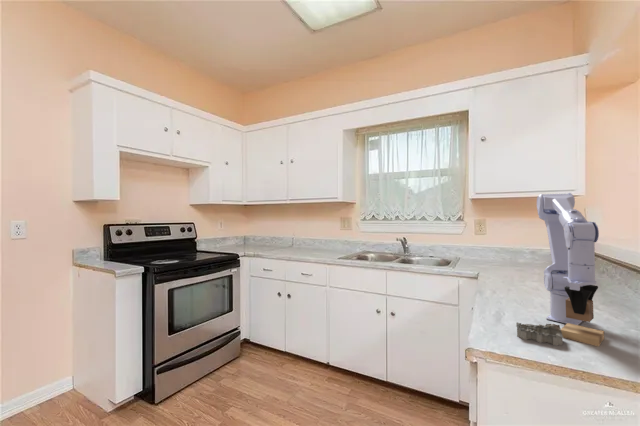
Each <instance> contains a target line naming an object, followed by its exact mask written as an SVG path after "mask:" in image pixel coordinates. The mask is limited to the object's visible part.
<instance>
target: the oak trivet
mask: <svg viewBox="0 0 640 426" xmlns="http://www.w3.org/2000/svg"><path fill="white" fill-rule="evenodd" d="M561 332H562V335H563V339H568V340H573V341H576V342H579V343H583V344H587V345H590V346H591V345H592V346H595V347H600V345H601V344H602V342H603V341H604V339H605V331H604V330H601V329H596V328H591V327H587V326H583V325H580V324H579V325H574V324H570V323H567V324H566V323H565V325H564V326H563V327H561Z"/></svg>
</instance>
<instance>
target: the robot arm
mask: <svg viewBox="0 0 640 426" xmlns="http://www.w3.org/2000/svg"><path fill="white" fill-rule="evenodd" d="M575 199H576V198H575V196H574V194H573V193H571V192H567V193H539V194H538V195H537V198H536V210H537V215H538V218H539V219H541V220H543V221H544V224H545V226H546V231H547V238H548V245H549V250H550V257H551V262H552V263H551V264H549V265H547V267H545V268H544V269H543V284H544V288H545V289H546V290H547V291H548V292H549V293H550V294H549V295H550V298H549V299H550V301H549V303H550V314H549V315H548V316H546V317H545V319H546V320H549V321H554V322H558V323H562V324H565V325H566V324H567V323H570V324H574V325H579V326H580V324H581V323H583V321H581V320H577V319H572V318H567V317H566V299H568V298H570V301H571V304H572V308H573V311H574V313H577V314H582V315H584V314H585V311H586V305H587V301H588V300H592V301H593V298H594V296H595V294H596V292H597V290H598V289H599V286H598V285H596V284H597V281H596V257H595V256H596V254H595V252H596V251H595V250H596V249H595V243H597V242H598V240H599V236H600V230H599V226H598V224H597V223H596V222H595V221H588V220H587V219H586V218H585V217H584V215H583V213H582V212H581V211H579V210H577V208H576V209H575V203H576V201H575Z"/></svg>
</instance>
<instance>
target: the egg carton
mask: <svg viewBox="0 0 640 426" xmlns="http://www.w3.org/2000/svg"><path fill="white" fill-rule="evenodd" d="M515 327H516V337H517V338H521V339H522V340H525V341H526V340H533V341H536V342H537V343H540V344H541V343H548V344H551V345H553V346H563V345H564V341H563V339H564V337H563V335H562V332H561V329H562V327H561V326H560V324H555V323H546V324H545V325H543V324H532V323H526V324H524V323H522V322H516V325H515Z"/></svg>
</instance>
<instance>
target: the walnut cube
mask: <svg viewBox="0 0 640 426" xmlns="http://www.w3.org/2000/svg"><path fill="white" fill-rule="evenodd" d="M566 317H567V318H572V319H577V320H581V321H582V322H585V323H586V322H587V323H591V321H592V320H593V319H595V318H594V300H593V299H592V300H588V301H587V305H586V311H585V314H584V315H582V314H577V313H574V311H573V308H572V304H571V301H570V298H568V299H566Z"/></svg>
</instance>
